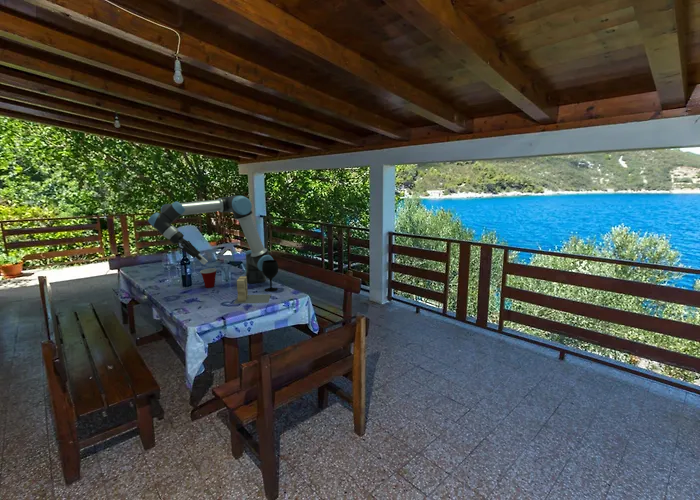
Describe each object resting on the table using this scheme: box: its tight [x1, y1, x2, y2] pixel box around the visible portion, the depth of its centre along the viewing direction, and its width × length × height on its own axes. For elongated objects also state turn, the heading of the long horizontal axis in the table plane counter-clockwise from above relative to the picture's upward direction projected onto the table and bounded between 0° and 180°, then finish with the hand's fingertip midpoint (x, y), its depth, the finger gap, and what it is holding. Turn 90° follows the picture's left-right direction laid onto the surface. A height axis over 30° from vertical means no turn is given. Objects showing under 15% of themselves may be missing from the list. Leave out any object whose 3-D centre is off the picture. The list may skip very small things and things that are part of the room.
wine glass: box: [262, 259, 280, 293], centre depth 229 cm, size 10×10×20 cm
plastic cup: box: [199, 267, 218, 289], centre depth 237 cm, size 11×11×12 cm
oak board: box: [236, 275, 249, 302], centre depth 210 cm, size 10×4×13 cm, turn 7°
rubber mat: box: [233, 293, 272, 305], centre depth 212 cm, size 16×20×1 cm
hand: (205, 263), depth 204 cm, fingers closed
